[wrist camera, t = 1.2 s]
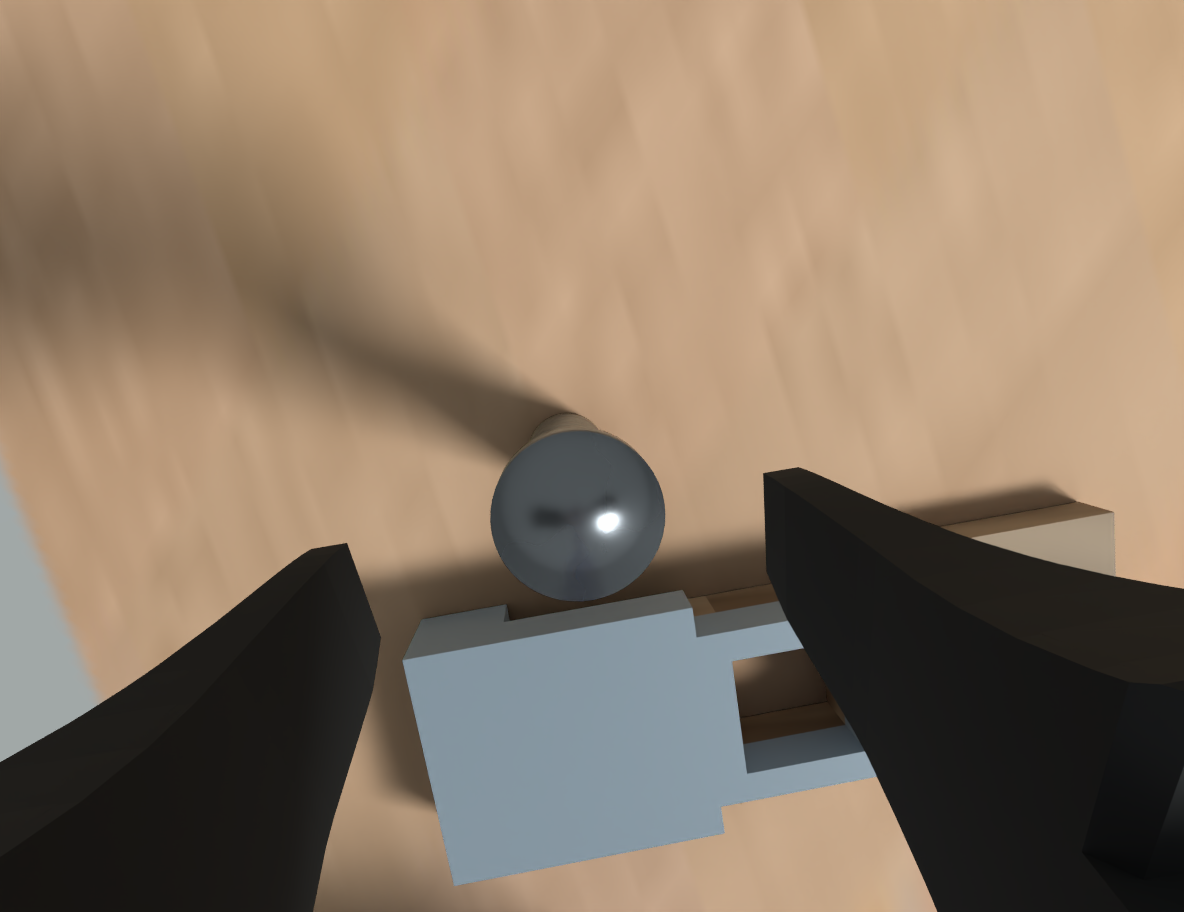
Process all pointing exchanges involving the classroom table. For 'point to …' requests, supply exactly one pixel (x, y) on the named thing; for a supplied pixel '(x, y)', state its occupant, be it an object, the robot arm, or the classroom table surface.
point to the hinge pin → (577, 511)
